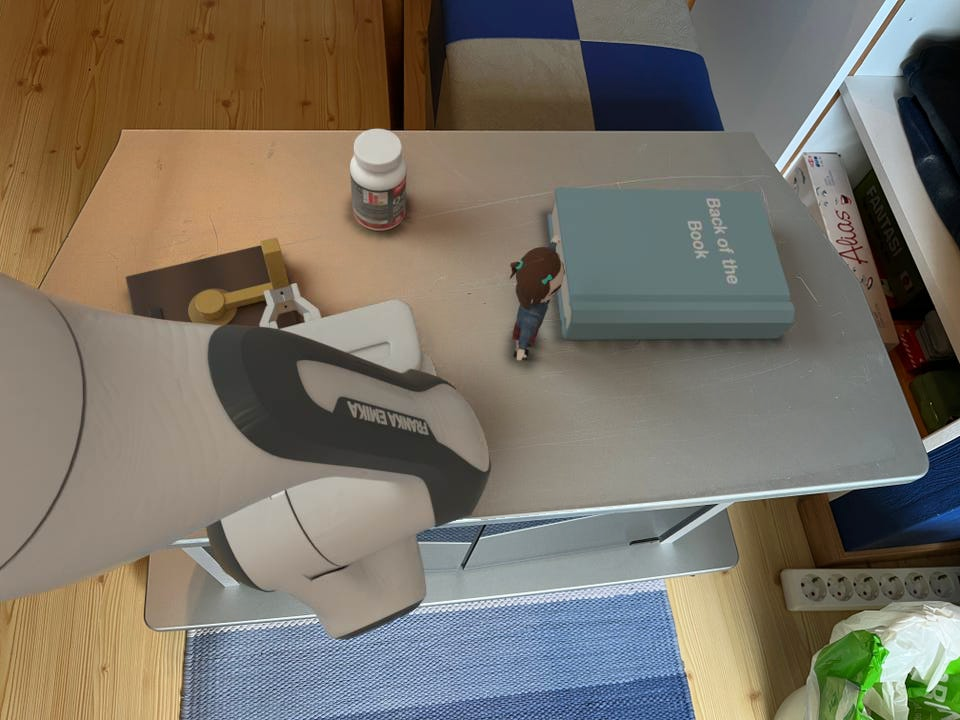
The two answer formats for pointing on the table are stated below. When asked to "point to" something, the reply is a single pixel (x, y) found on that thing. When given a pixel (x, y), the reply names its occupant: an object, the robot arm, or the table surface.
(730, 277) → the book
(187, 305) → the lock plate
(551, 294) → the toy
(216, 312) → the tan lever handle
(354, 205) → the pill bottle
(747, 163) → the table surface
